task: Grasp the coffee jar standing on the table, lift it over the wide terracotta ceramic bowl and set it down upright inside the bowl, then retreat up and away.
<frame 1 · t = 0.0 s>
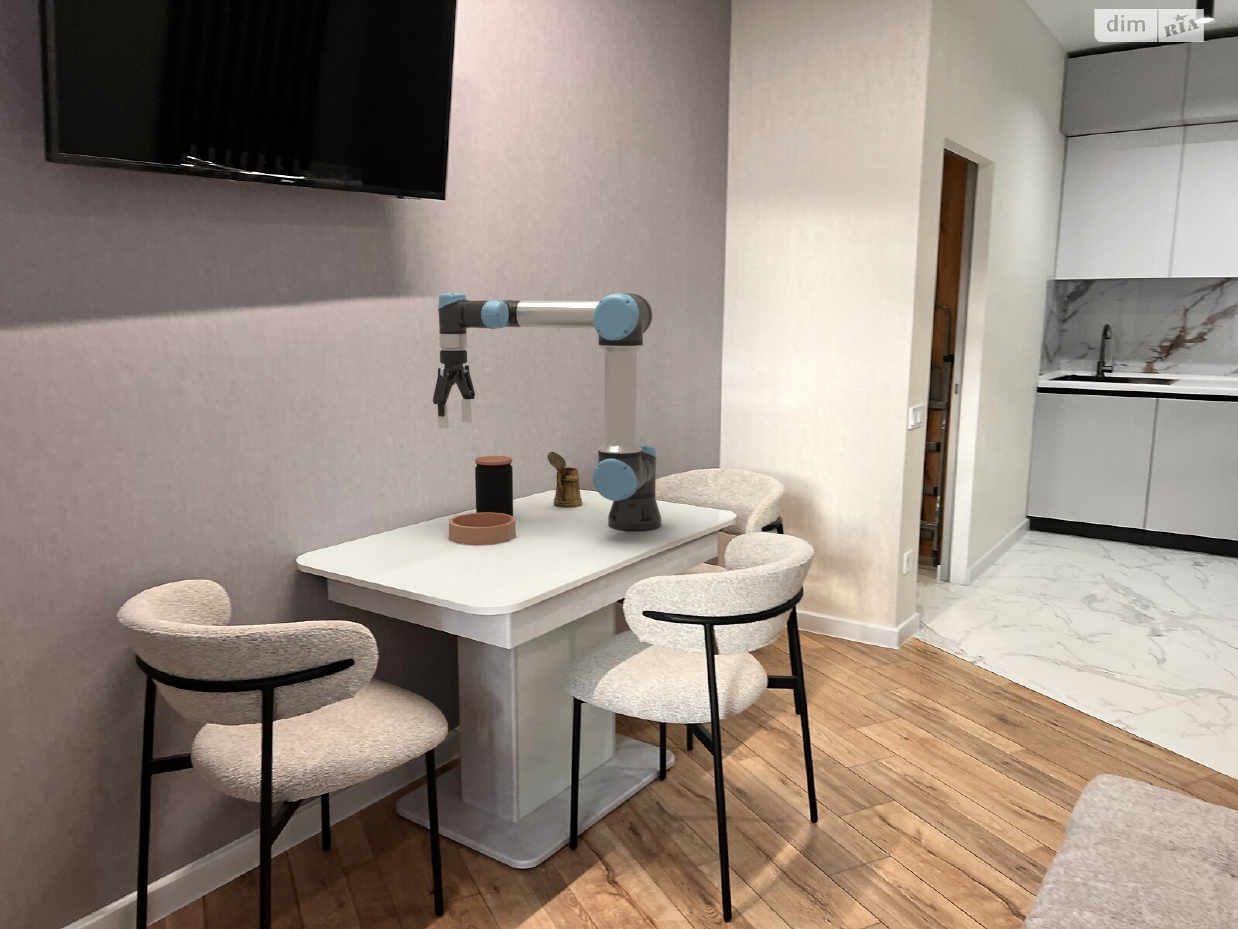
hand: (455, 425, 264), 28 cm above the table, fingers open, 13 cm apart
coffee jar: (494, 520, 271), on the table
wooden mug: (563, 506, 290), on the table
terracotta bowl: (482, 536, 253), on the table
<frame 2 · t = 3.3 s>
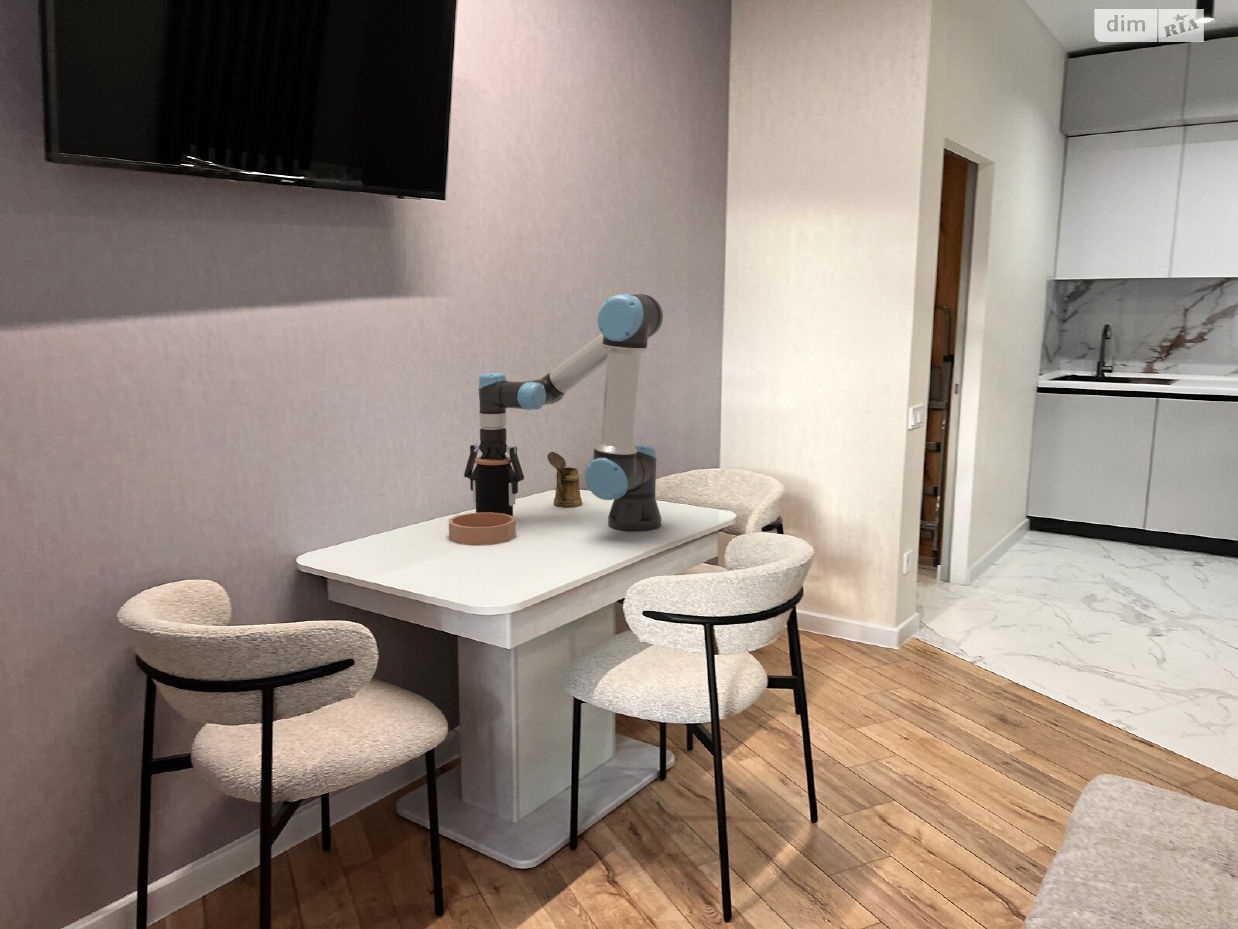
hand: (494, 503, 270), 5 cm above the table, fingers closed on coffee jar, 11 cm apart
coffee jar: (494, 520, 271), on the table, touching gripper
everything else where it was.
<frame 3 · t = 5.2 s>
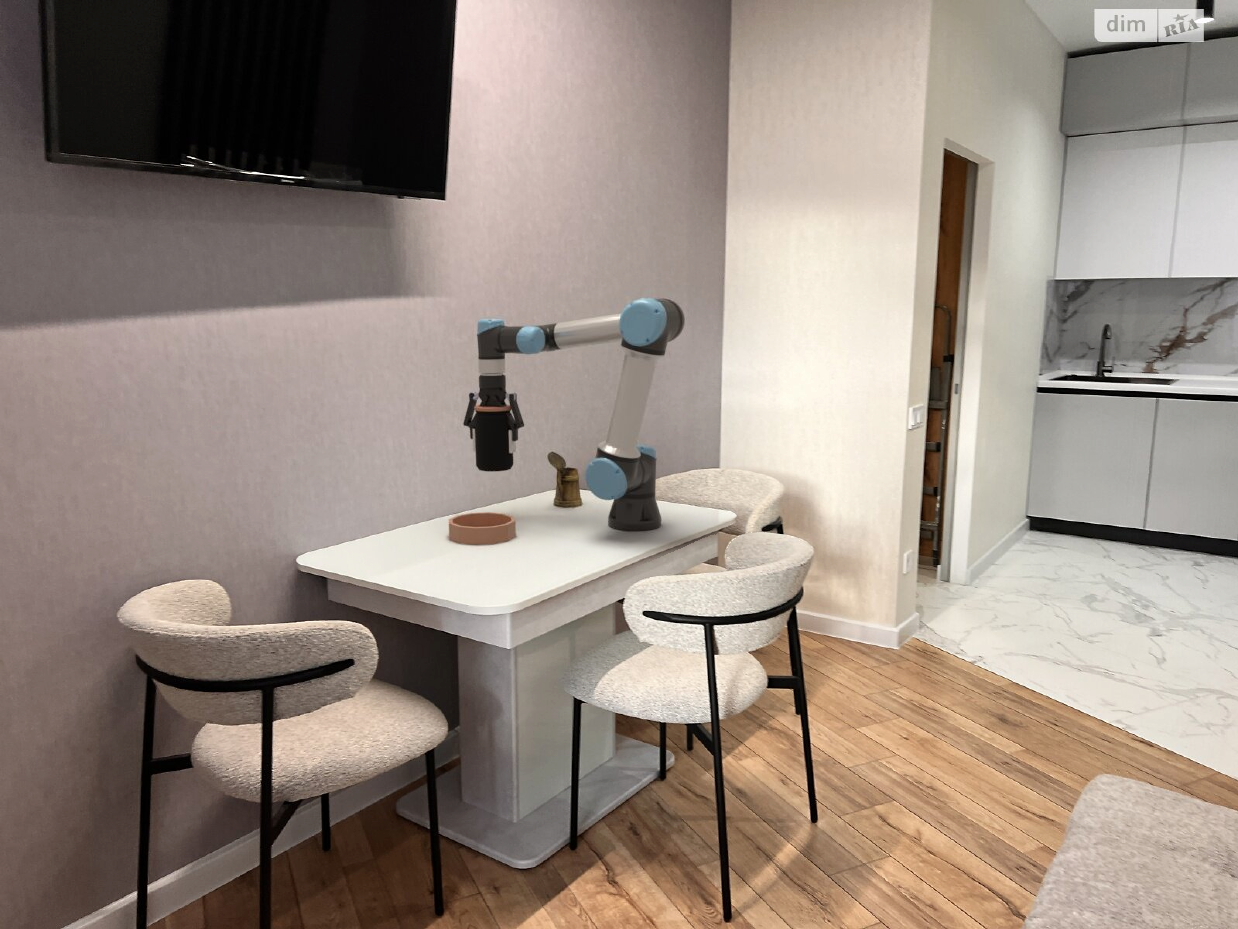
hand: (494, 451, 267), 20 cm above the table, fingers closed on coffee jar, 11 cm apart
coffee jar: (494, 469, 268), point 15 cm above the table, touching gripper
everything else where it was.
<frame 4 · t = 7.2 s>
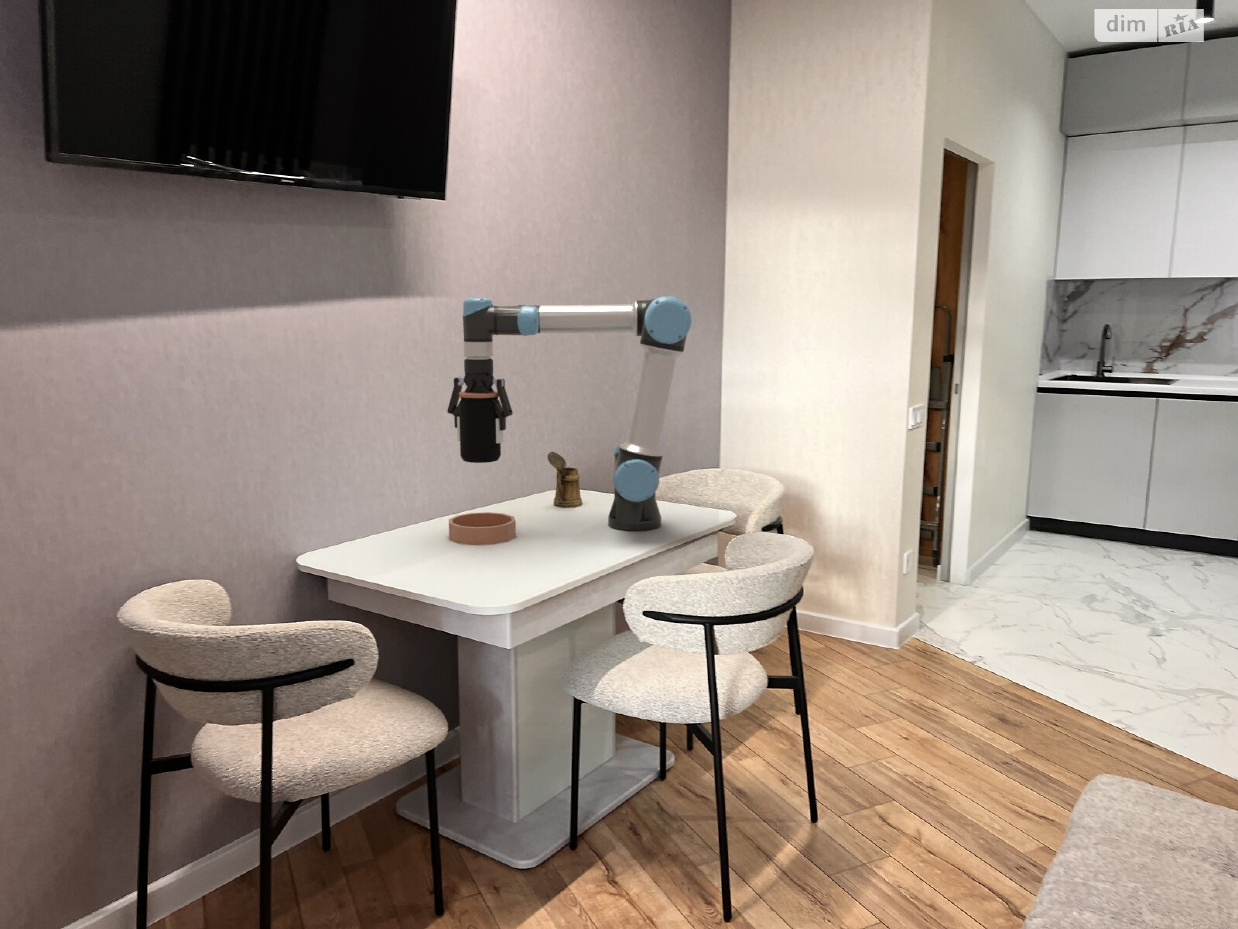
hand: (480, 441, 248), 26 cm above the table, fingers closed on coffee jar, 11 cm apart
coffee jar: (480, 460, 249), point 21 cm above the table, touching gripper
everything else where it was.
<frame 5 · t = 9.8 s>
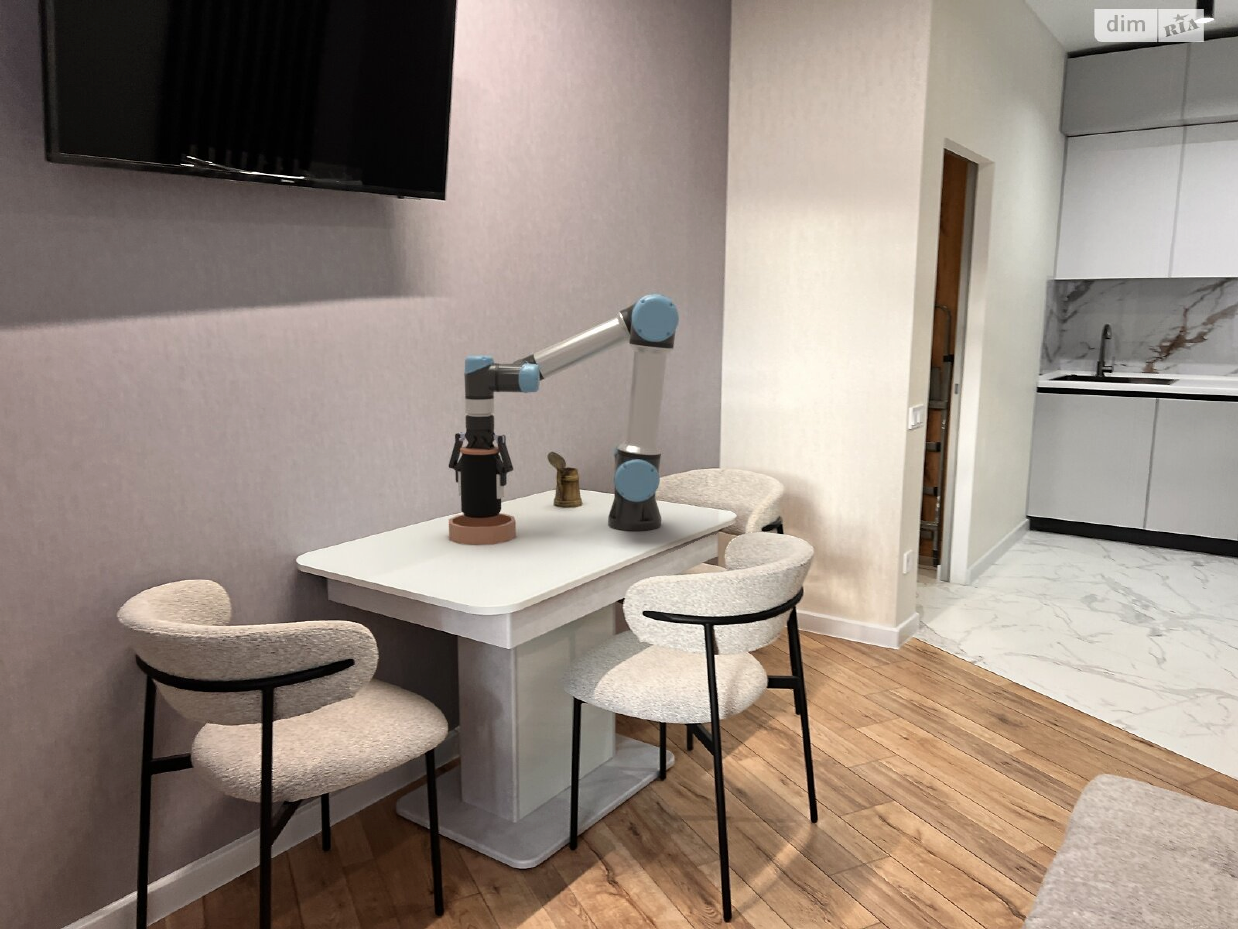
hand: (481, 496, 251), 11 cm above the table, fingers closed on coffee jar, 11 cm apart
coffee jar: (481, 514, 252), point 6 cm above the table, touching gripper
everything else where it was.
when the fingers open (8 cm above the table, at t = 11.6 s): coffee jar drops 2 cm, resting on terracotta bowl.
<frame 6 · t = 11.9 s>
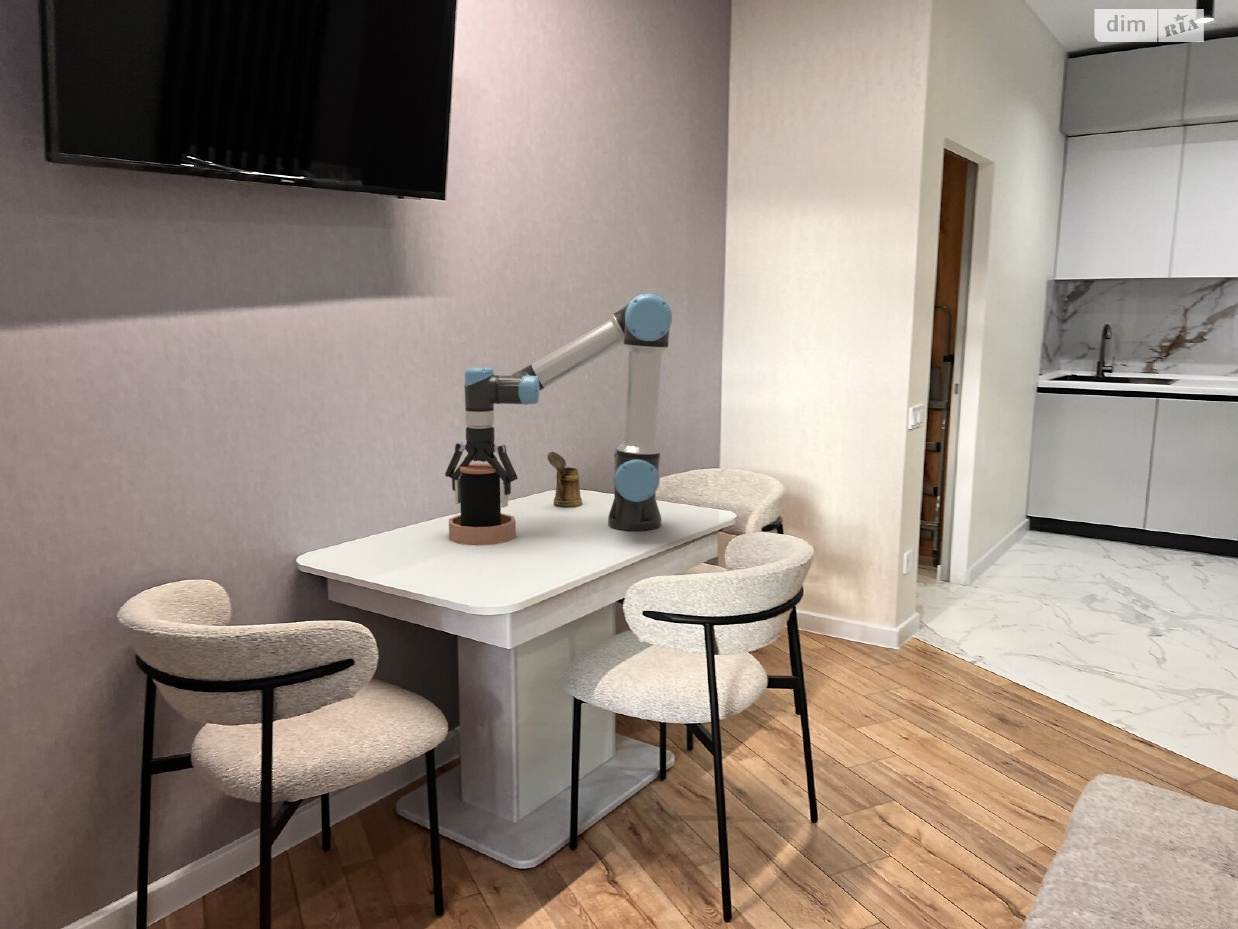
hand: (481, 504, 251), 9 cm above the table, fingers open, 13 cm apart
coffee jar: (481, 533, 253), point 1 cm above the table, touching terracotta bowl
everything else where it was.
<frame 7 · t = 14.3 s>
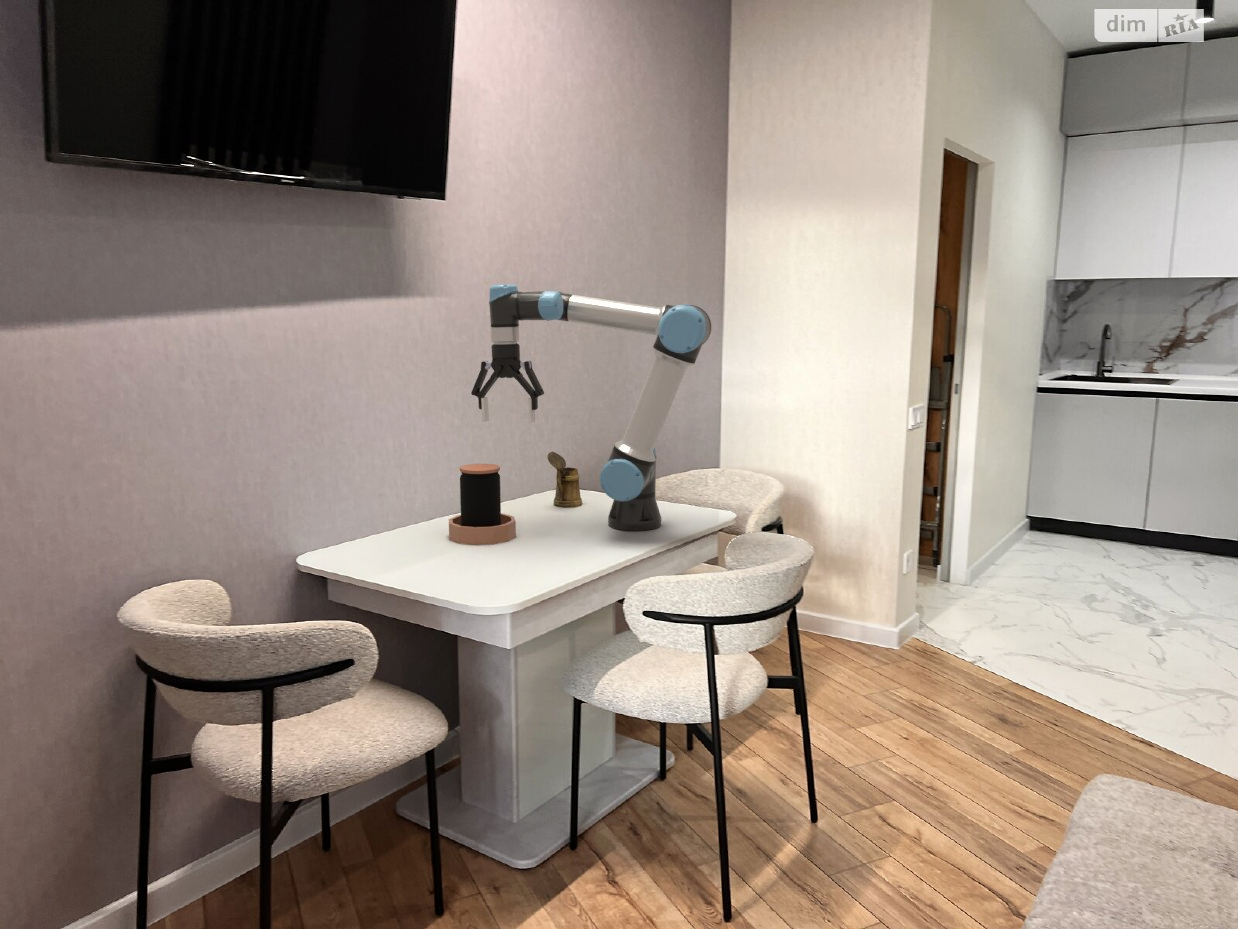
hand: (508, 421, 255), 30 cm above the table, fingers open, 13 cm apart
nothing on the table moved.
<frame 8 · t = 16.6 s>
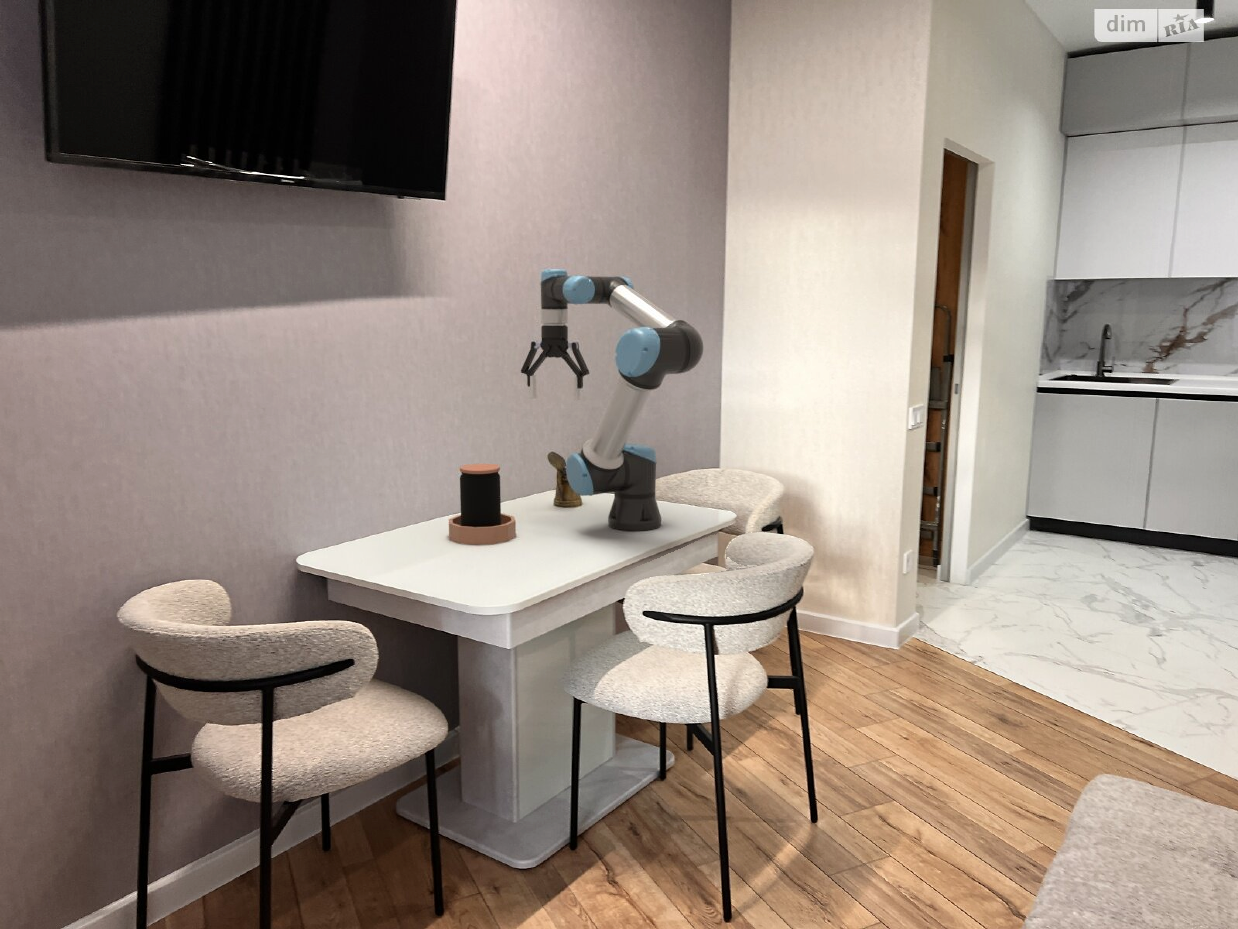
hand: (555, 399, 270), 35 cm above the table, fingers open, 13 cm apart
nothing on the table moved.
at the end: coffee jar 0.3 cm off-centre on the terracotta bowl, point 0.8 cm above the terracotta bowl's base; coffee jar tilted 0°; the gripper is holding nothing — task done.
